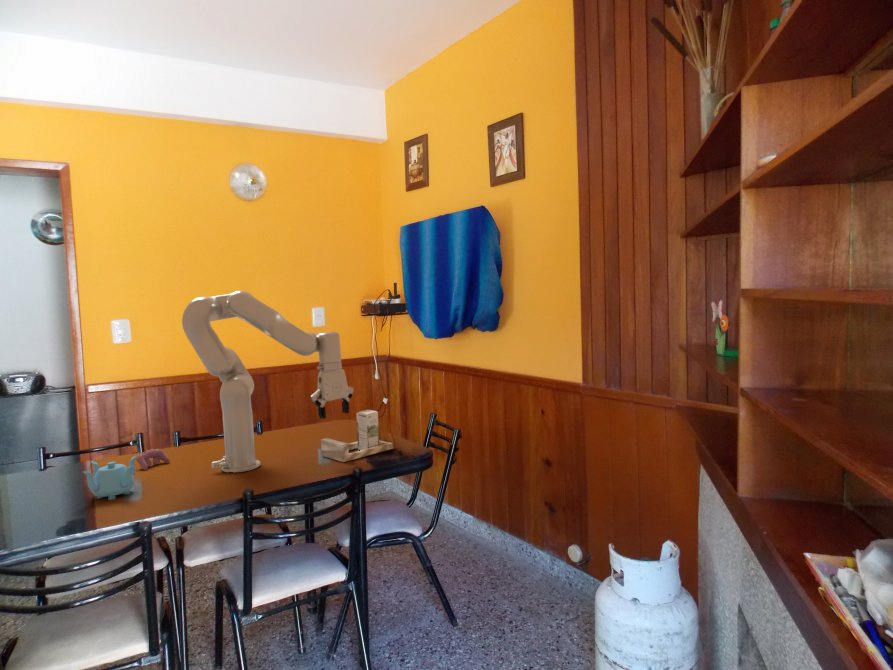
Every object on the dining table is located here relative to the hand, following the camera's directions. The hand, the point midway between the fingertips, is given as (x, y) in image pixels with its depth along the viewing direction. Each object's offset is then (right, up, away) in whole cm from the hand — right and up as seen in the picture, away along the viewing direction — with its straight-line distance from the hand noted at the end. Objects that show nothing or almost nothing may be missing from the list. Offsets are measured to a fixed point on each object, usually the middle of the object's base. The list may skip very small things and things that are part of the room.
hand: (334, 415), depth 201 cm
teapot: (-61, -20, -29) cm, 70 cm away
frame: (+7, -15, +8) cm, 18 cm away
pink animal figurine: (-65, -19, +2) cm, 67 cm away
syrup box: (+11, -15, +11) cm, 21 cm away
